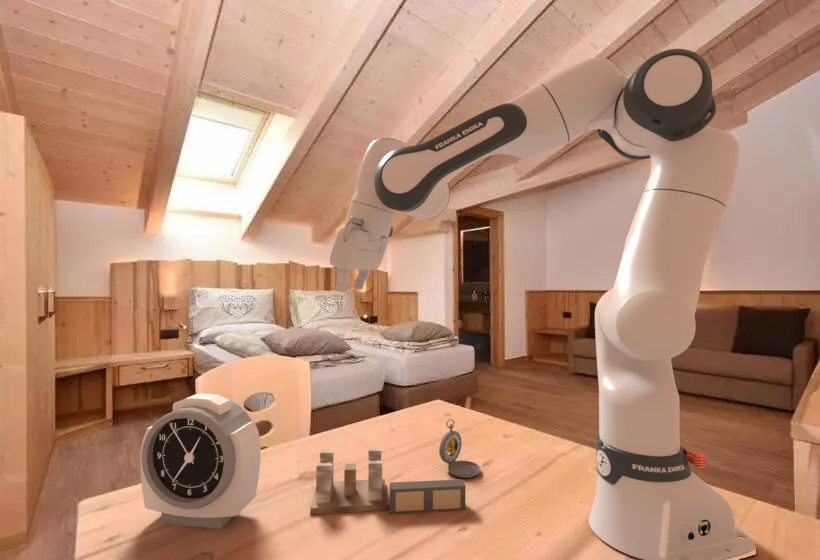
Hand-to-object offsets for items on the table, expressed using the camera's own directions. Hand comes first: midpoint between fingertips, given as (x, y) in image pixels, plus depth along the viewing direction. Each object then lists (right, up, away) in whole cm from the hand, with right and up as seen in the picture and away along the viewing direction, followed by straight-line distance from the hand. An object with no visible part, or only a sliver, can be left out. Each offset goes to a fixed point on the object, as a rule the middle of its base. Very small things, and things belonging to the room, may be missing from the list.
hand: (349, 290), depth 79 cm
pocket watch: (+23, -38, +5) cm, 45 cm away
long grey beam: (+15, -38, -10) cm, 42 cm away
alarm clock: (-23, -38, -12) cm, 46 cm away
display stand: (+1, -38, -6) cm, 38 cm away
